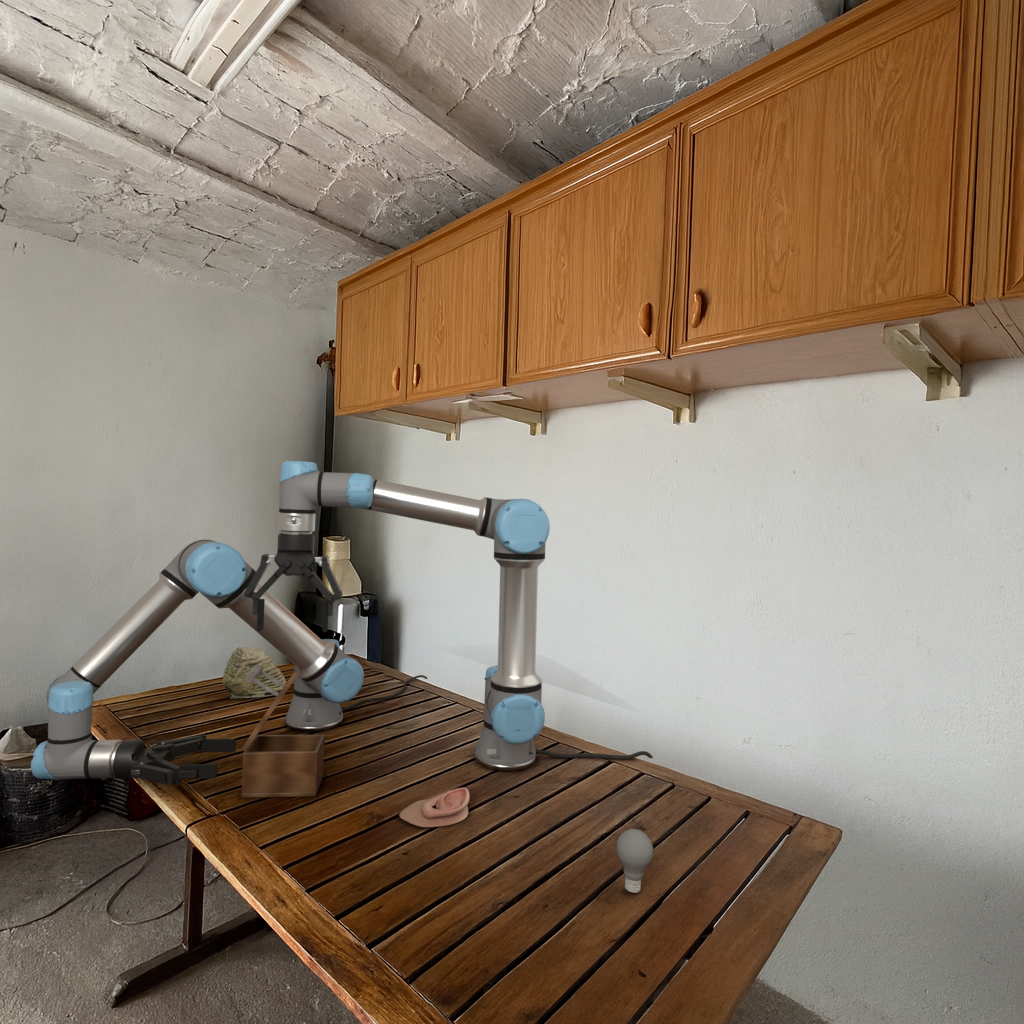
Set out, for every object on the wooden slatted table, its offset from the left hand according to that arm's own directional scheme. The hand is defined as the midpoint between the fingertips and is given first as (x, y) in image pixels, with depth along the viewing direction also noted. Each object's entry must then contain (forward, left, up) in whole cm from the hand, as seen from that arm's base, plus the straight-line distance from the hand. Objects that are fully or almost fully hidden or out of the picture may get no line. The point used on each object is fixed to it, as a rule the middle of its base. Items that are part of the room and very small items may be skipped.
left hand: (226, 757), depth 136 cm
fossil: (-37, -54, -7) cm, 65 cm away
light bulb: (-27, +83, -7) cm, 87 cm away
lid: (-7, +6, +10) cm, 13 cm away
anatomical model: (-23, +41, -7) cm, 47 cm away
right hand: (-9, +8, +28) cm, 30 cm away
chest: (-9, +8, -7) cm, 14 cm away
